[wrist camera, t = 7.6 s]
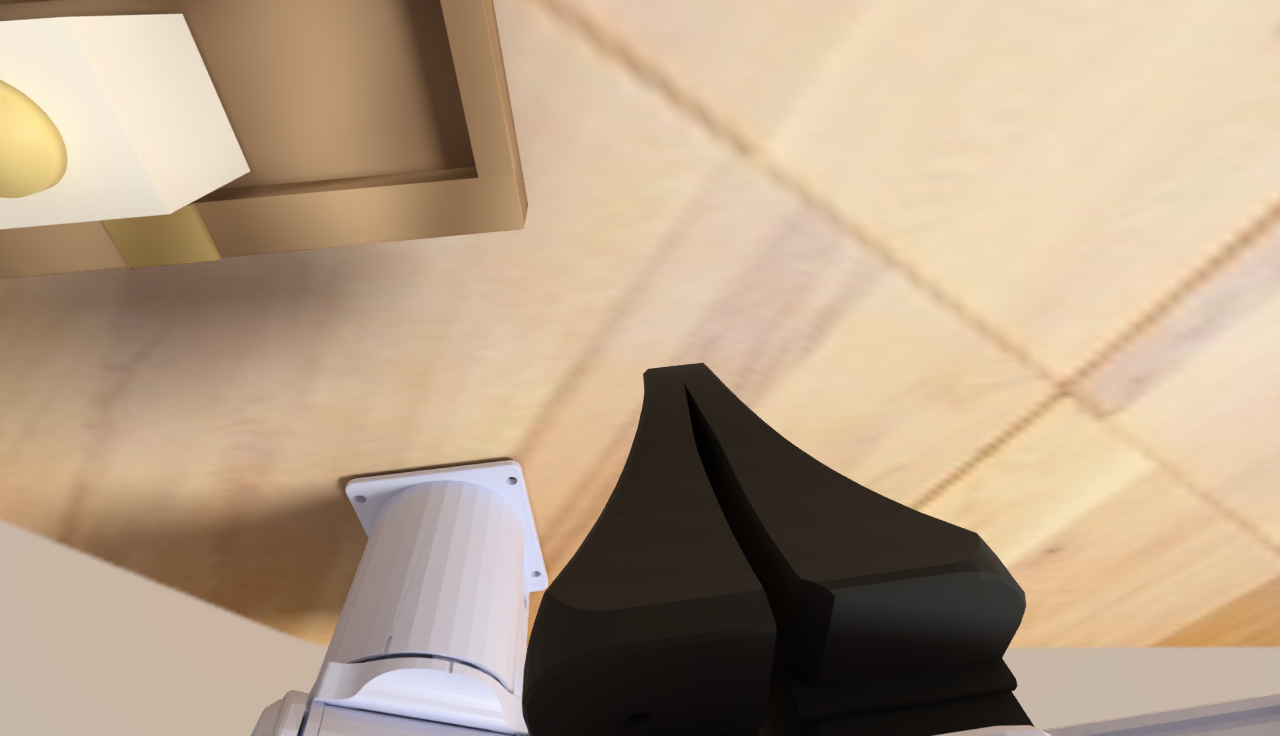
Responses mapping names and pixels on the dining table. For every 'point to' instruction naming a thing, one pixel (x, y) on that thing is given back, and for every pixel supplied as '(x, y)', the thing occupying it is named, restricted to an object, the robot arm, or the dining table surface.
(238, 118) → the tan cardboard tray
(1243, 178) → the dining table surface
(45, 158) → the block
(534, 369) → the dining table surface
